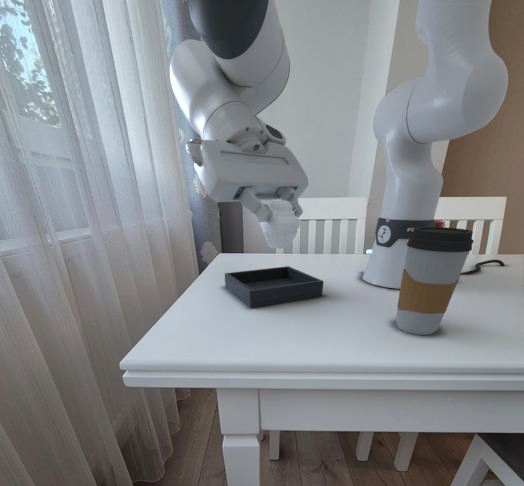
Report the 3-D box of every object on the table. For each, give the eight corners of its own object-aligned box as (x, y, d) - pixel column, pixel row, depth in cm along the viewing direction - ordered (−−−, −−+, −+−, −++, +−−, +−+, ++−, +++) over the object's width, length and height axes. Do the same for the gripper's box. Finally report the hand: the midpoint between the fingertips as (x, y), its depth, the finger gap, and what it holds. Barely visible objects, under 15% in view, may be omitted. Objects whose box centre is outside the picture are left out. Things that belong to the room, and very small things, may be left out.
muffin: (297, 244, 50) (300, 197, 46) (299, 250, 44) (302, 198, 41) (261, 243, 50) (261, 197, 47) (258, 250, 45) (258, 198, 41)
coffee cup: (452, 340, 44) (489, 234, 37) (393, 335, 46) (418, 232, 38) (435, 319, 51) (463, 227, 44) (385, 315, 53) (404, 225, 46)
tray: (287, 279, 74) (288, 266, 72) (322, 296, 62) (323, 280, 61) (225, 287, 68) (224, 273, 66) (250, 308, 56) (249, 291, 54)
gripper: (187, 114, 37) (244, 204, 36) (288, 133, 50) (332, 199, 49) (173, 158, 42) (222, 239, 40) (268, 165, 55) (308, 226, 54)
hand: (283, 217), depth 45 cm, fingers closed on muffin, 6 cm apart
